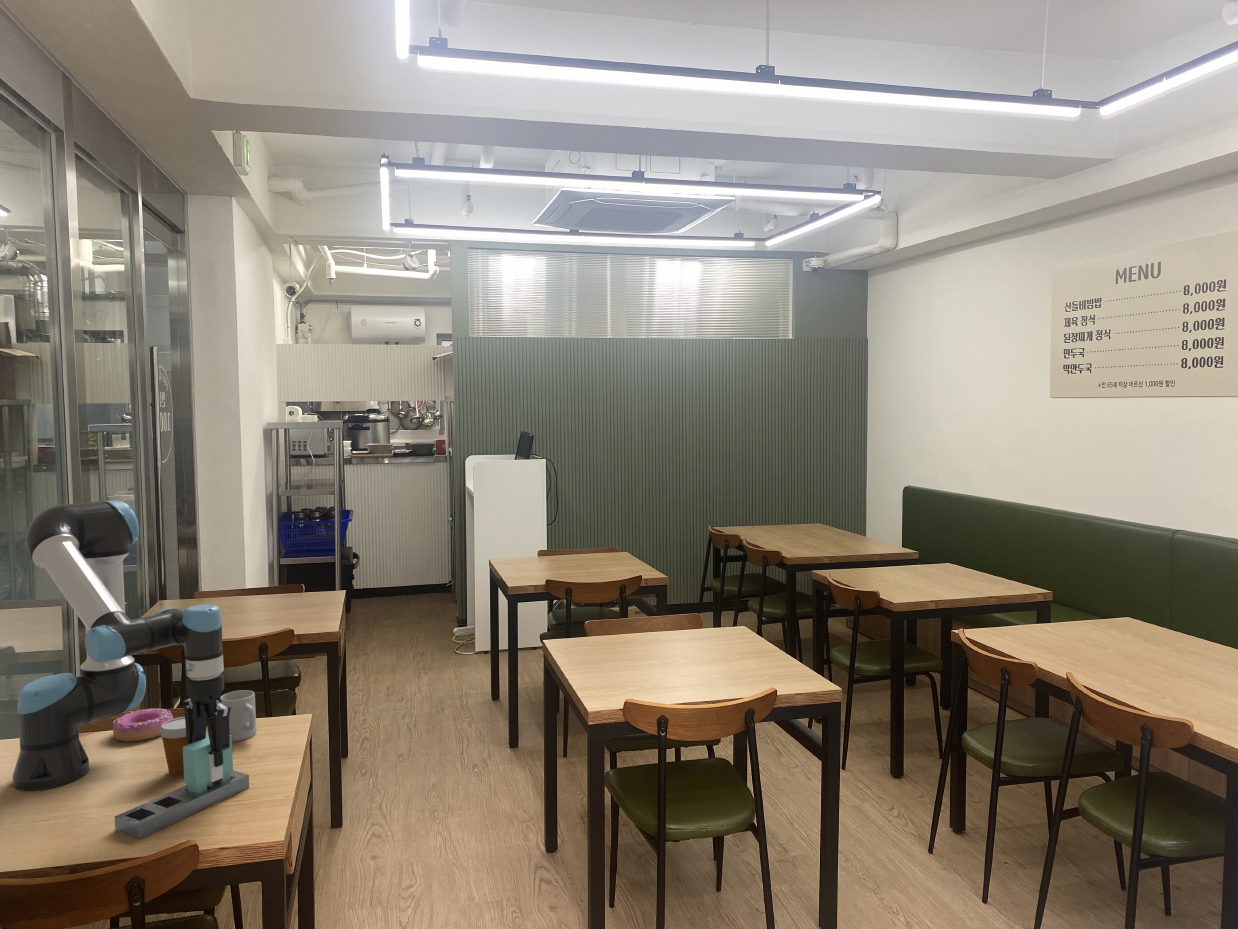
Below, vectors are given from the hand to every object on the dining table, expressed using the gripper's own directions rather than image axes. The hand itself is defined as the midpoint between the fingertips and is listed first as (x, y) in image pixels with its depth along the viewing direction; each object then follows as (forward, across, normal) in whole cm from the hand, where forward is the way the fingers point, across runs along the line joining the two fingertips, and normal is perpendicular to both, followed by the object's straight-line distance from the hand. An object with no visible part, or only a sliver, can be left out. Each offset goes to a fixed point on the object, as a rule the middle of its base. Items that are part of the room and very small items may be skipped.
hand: (209, 777), depth 187 cm
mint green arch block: (+3, 0, 0) cm, 3 cm away
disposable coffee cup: (+5, -18, +6) cm, 19 cm away
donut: (+5, -51, +17) cm, 54 cm away
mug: (+5, -24, +27) cm, 36 cm away
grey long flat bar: (+4, 0, -6) cm, 7 cm away
